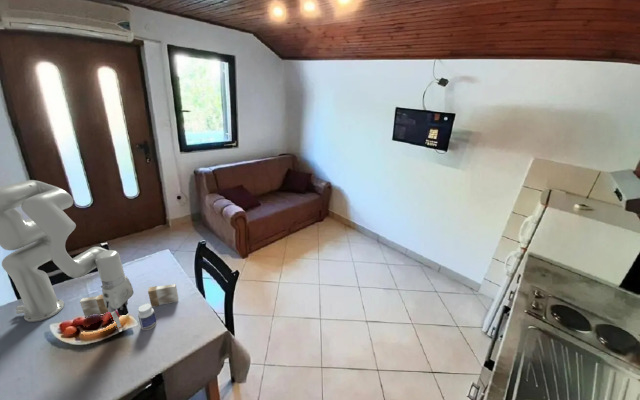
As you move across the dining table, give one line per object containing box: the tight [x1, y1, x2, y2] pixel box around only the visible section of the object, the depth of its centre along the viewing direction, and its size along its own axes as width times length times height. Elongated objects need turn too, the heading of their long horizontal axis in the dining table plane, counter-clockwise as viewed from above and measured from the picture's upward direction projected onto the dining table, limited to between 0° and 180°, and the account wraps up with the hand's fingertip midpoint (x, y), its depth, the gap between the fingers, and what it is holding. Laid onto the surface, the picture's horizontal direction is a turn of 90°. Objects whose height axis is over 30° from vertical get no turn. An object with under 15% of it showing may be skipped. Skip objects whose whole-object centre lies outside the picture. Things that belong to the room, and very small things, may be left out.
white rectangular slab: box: [110, 310, 122, 328], centre depth 112 cm, size 14×2×8 cm, turn 50°
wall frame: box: [79, 283, 179, 318], centre depth 121 cm, size 36×3×9 cm, turn 109°
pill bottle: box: [137, 303, 157, 331], centre depth 112 cm, size 6×6×10 cm
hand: (123, 314), depth 113 cm, fingers closed
